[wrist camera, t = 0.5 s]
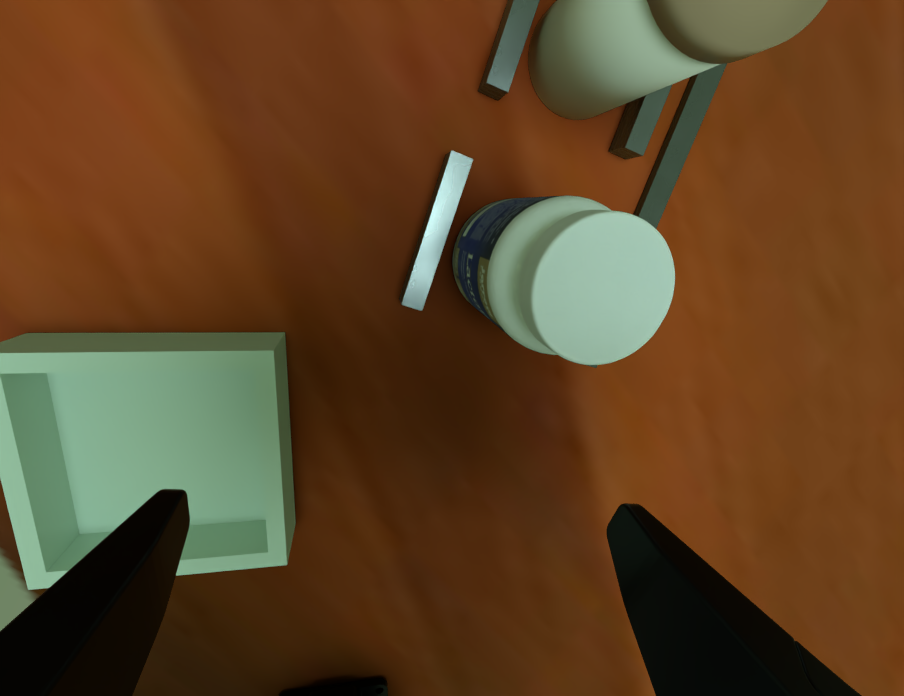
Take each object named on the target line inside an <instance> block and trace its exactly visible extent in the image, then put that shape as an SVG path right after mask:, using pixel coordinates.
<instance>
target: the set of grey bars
mask: <svg viewBox="0 0 904 696" xmlns="http://www.w3.org/2000/svg"><path fill="white" fill-rule="evenodd" d="M538 3H539V0H508V1H507V4H506V7H505V10H504V14H503V17H502V20H501V23H500V26H499V29H498V32H497V35H496V38H495V41H494V44H493V47H492V50H491V53H490V56H489V59H488V62H487V65H486V68H485V71H484V74H483V77H482V80H481V83H480V86H479V90H478V92H480V93H482V94H485V95H487V96H489V97H491V98H493V99H495V100H499V99H501V98H502V97H503V96H504V95H505V94H507V93H508V91H509V88H510V85H511V82H512V79H513V76H514V73H515V70H516V68H517V65H518V62H519V59H520V56H521V53H522V50H523V47H524V44H525V41H526V38H527V35H528V32H529V30H530V27H531V24H532V21H533V18H534V15H535V12H536V9H537V6H538ZM726 65H727V63H724V64H720V65H717V66H715V67H713V68H710V69H708V70H705V71H703V72H701V73H698V74H696V75H693V76H691V78H690V81H689V83H688V86H687V88H686V90H685V93H684V95H683V98H682V100H681V102H680V105H679V107H678V110H677V112H676V114H675V117H674V119H673V122H672V124H671V126H670V129H669V131H668V134H667V136H666V138H665V141H664V143H663V146H662V148H661V150H660V153H659V155H658V158H657V160H656V162H655V165H654V167H653V170H652V172H651V174H650V177H649V179H648V182H647V184H646V186H645V189H644V191H643V194H642V196H641V198H640V201H639V203H638V206H637V208H636V210H635V213H634V215H635V216H637V217H639V218H641V219H643V220H645V221H647V222H648V223H649V224H651V225H652V226H653V227H654V228H655V229H656V228H657V225H658V223H659V221H660V218H661V216H662V214H663V211H664V209H665V207H666V204H667V202H668V200H669V197H670V195H671V193H672V190H673V188H674V186H675V183H676V181H677V179H678V176H679V174H680V172H681V169H682V167H683V165H684V162H685V160H686V158H687V156H688V153H689V151H690V149H691V146H692V144H693V142H694V139H695V137H696V135H697V132H698V130H699V128H700V125H701V123H702V121H703V118H704V116H705V114H706V111H707V109H708V107H709V104H710V102H711V100H712V97H713V95H714V93H715V90H716V88H717V86H718V83H719V81H720V79H721V76H722V74H723V72H724V69H725V67H726ZM671 86H672V85H669V86H667V87H664V88H662V89H660V90H657V91H655V92H652V93H650V94H648V95H645V96H643V97H640V98H638V99H636V100H633V101H631V102H628V103H627V106H626V108H625V111H624V114H623V116H622V119H621V121H620V124H619V126H618V129H617V131H616V134H615V136H614V139H613V141H612V144H611V147H610V149H609V152H610V153H613V154H615V155H617V156H619V157H621V158H624V159H630V158H635V157H639V156H643V155H644V152H645V150H646V147H647V145H648V142H649V140H650V138H651V135H652V133H653V130H654V128H655V125H656V123H657V121H658V118H659V116H660V113H661V111H662V108H663V106H664V103H665V101H666V99H667V96H668V94H669V91H670V89H671ZM472 161H473V159H471V158H469V157H467V156H464V155H462V154H459V153H457V152H455V151H450V152H449V153H447V154H446V155H445V158H444V161H443V164H442V167H441V170H440V174H439V177H438V180H437V183H436V186H435V189H434V192H433V195H432V198H431V201H430V204H429V207H428V211H427V214H426V217H425V220H424V223H423V226H422V229H421V232H420V235H419V238H418V241H417V245H416V248H415V251H414V254H413V257H412V260H411V263H410V266H409V269H408V272H407V275H406V278H405V282H404V285H403V288H402V291H401V294H400V297H399V300H400V302H401V305H405V306H408V307H411V308H414V309H417V310H421V311H422V310H423V307H424V304H425V301H426V298H427V295H428V292H429V289H430V286H431V283H432V280H433V277H434V274H435V271H436V268H437V265H438V262H439V259H440V256H441V253H442V250H443V247H444V244H445V241H446V238H447V236H448V233H449V230H450V227H451V224H452V221H453V218H454V215H455V212H456V209H457V206H458V203H459V200H460V197H461V194H462V191H463V188H464V185H465V182H466V179H467V176H468V173H469V170H470V167H471V164H472ZM588 366H591V367H595V368H596V367H597V365H588Z"/></svg>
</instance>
